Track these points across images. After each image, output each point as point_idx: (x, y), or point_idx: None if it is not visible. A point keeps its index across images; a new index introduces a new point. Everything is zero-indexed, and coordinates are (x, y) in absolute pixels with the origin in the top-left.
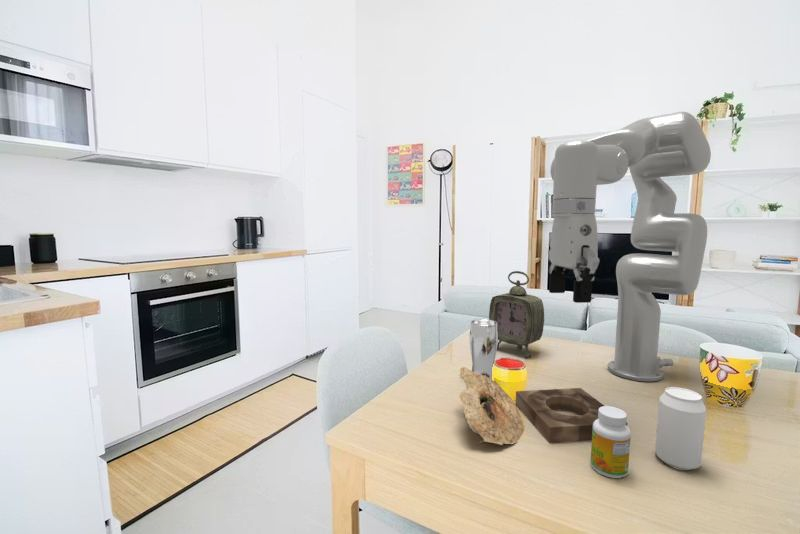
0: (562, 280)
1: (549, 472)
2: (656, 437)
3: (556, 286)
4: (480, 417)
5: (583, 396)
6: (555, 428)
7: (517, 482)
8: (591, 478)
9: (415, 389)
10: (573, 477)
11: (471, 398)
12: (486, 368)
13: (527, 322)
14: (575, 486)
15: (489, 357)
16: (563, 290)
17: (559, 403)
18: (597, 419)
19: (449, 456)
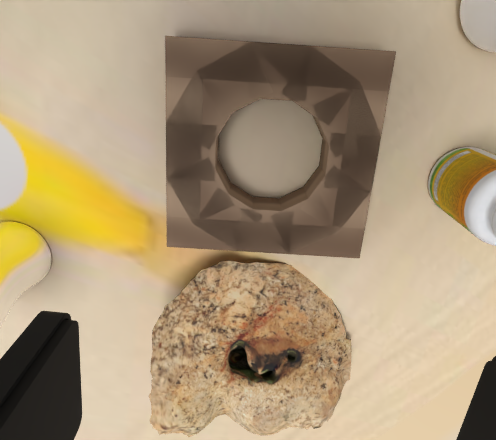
0: (19, 438)
1: (430, 288)
2: (492, 43)
3: (55, 429)
4: (310, 389)
5: (227, 70)
6: (361, 245)
7: (434, 345)
8: None
9: None
10: (456, 257)
11: (266, 410)
12: (24, 279)
13: None
14: (477, 267)
15: (7, 292)
16: (69, 338)
17: (217, 140)
18: (482, 227)
19: (340, 413)
